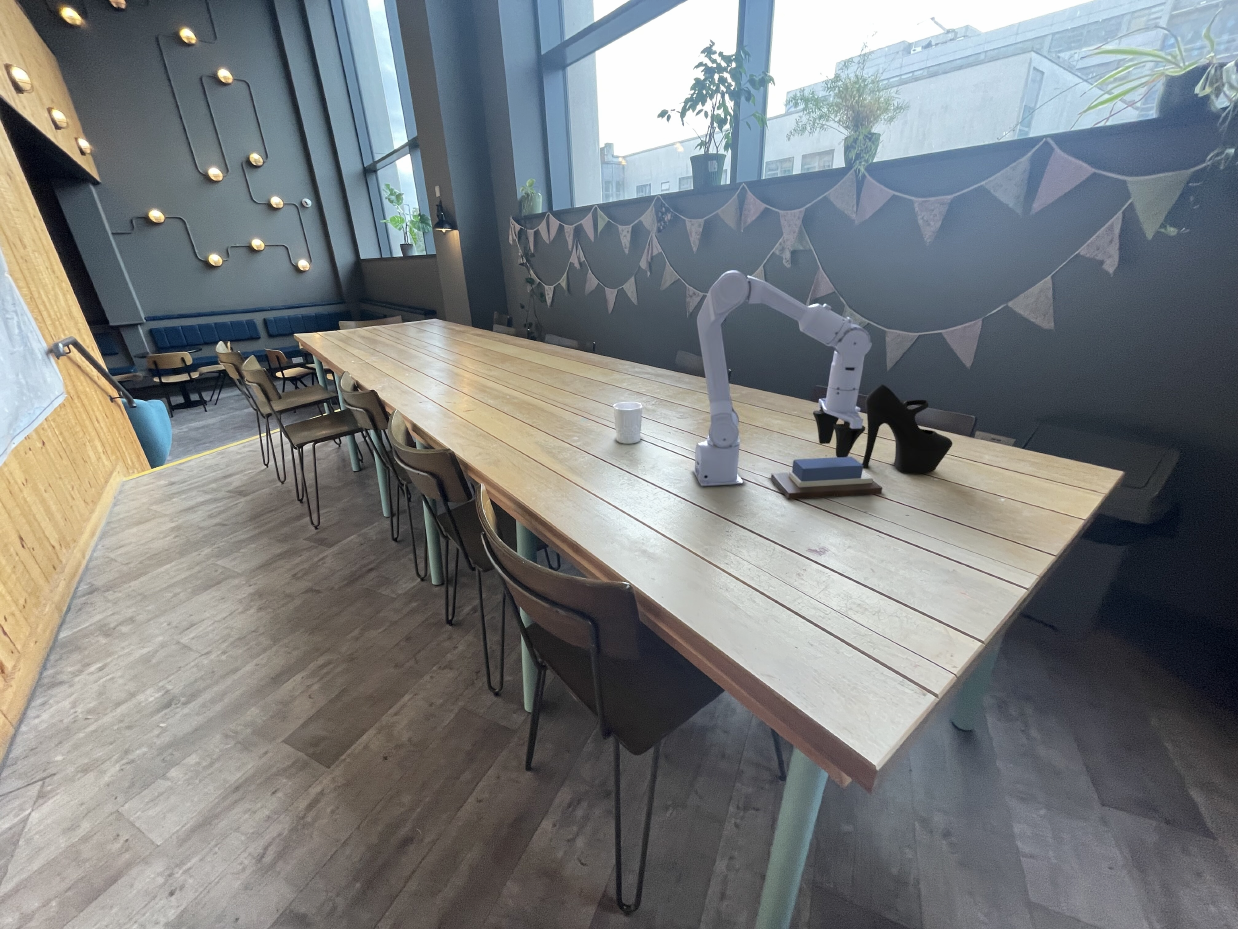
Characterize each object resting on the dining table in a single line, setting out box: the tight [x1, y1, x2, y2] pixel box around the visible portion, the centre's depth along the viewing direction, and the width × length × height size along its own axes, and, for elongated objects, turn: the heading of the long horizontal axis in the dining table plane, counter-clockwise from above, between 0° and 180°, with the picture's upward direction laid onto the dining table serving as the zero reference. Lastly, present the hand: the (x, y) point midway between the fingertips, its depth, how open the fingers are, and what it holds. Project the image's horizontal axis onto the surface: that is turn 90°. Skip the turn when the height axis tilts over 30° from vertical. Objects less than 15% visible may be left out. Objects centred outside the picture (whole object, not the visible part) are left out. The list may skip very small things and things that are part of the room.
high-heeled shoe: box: [861, 383, 953, 475], centre depth 106 cm, size 8×19×20 cm, turn 79°
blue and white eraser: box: [788, 456, 874, 487], centre depth 101 cm, size 16×6×4 cm, turn 94°
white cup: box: [612, 401, 643, 445], centre depth 131 cm, size 8×8×10 cm
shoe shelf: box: [770, 471, 883, 500], centre depth 102 cm, size 20×10×2 cm, turn 94°
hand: (832, 449), depth 100 cm, fingers open, 7 cm apart
